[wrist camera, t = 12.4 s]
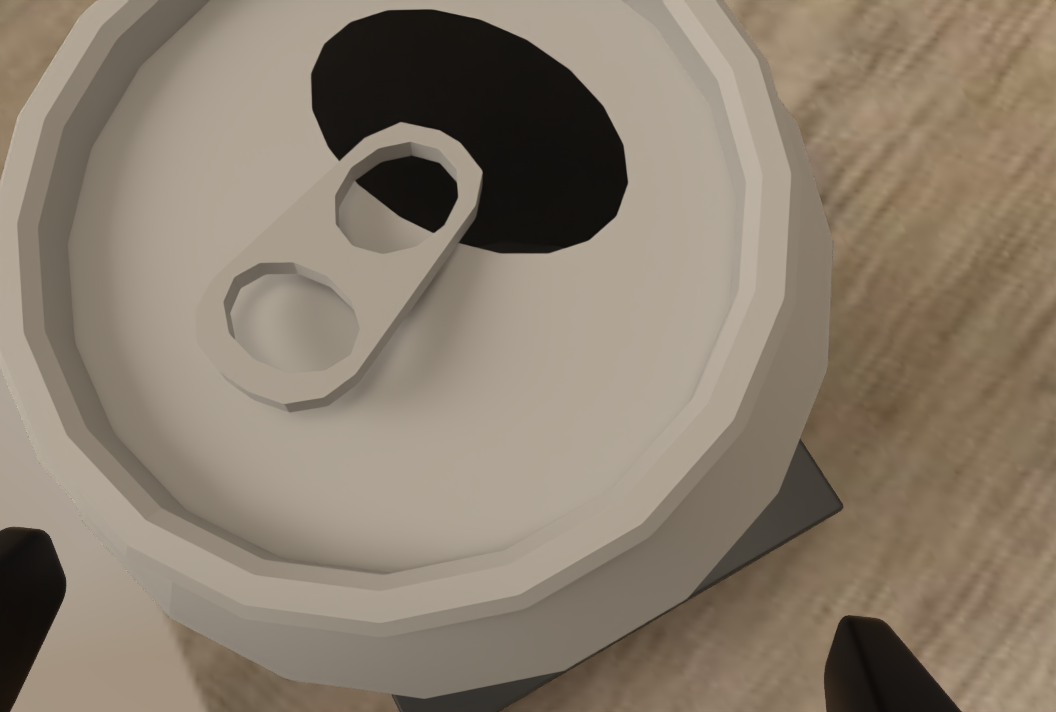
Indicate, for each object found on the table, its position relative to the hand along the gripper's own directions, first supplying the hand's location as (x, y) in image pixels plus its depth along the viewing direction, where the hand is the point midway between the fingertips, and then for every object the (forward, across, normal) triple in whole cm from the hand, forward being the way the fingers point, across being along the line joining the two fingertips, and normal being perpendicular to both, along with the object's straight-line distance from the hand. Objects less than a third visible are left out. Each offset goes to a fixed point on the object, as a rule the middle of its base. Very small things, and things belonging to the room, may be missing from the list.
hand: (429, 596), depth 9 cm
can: (+8, 0, +4) cm, 9 cm away
